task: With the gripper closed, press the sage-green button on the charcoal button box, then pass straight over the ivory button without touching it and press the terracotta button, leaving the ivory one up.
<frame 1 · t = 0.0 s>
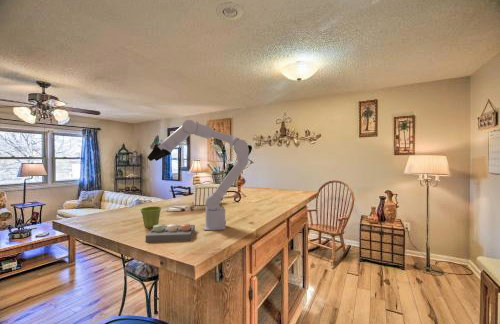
hand: (151, 159, 103), 32 cm above the table, tool tilted 50°, fingers open, 7 cm apart
button ivory: (171, 228, 95), point 3 cm above the table, slide at 0.0 cm
button terracotta: (185, 228, 95), point 3 cm above the table, slide at 0.0 cm
button box: (171, 236, 95), on the table
plant pot: (151, 226, 109), on the table
button sage: (158, 229, 94), point 3 cm above the table, slide at 0.0 cm
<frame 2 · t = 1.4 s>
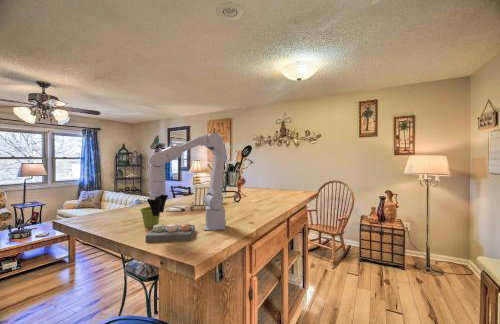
hand: (158, 214, 94), 9 cm above the table, tool pointing down, fingers open, 5 cm apart
nothing on the table moved.
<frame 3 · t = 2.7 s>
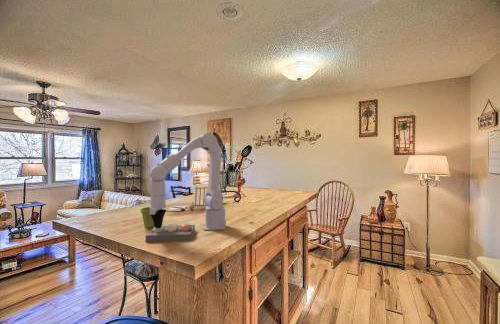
hand: (158, 227, 94), 4 cm above the table, tool pointing down, fingers closed, pressing on button sage
button sage: (158, 231, 94), point 2 cm above the table, slide at 0.8 cm, touching gripper
everything else where it was.
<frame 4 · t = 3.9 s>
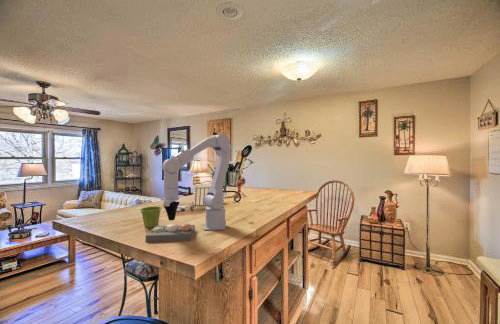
hand: (171, 219, 95), 7 cm above the table, tool pointing down, fingers closed
button sage: (158, 231, 94), point 2 cm above the table, slide at 1.0 cm
everything else where it was.
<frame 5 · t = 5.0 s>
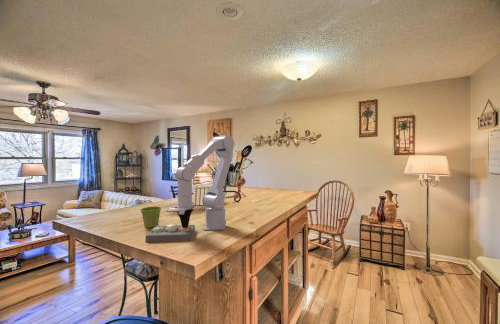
hand: (185, 227, 95), 3 cm above the table, tool pointing down, fingers closed, pressing on button terracotta
button terracotta: (185, 230, 95), point 2 cm above the table, slide at 1.0 cm, touching gripper
everything else where it was.
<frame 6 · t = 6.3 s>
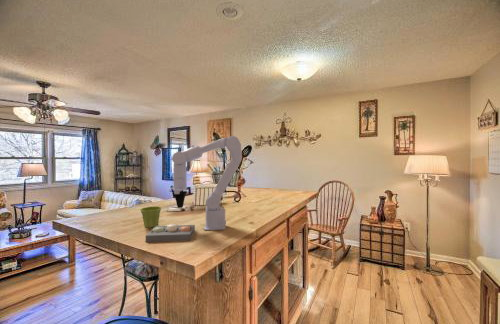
hand: (180, 207, 104), 10 cm above the table, tool pointing down, fingers closed
button terracotta: (185, 230, 95), point 2 cm above the table, slide at 1.0 cm
everything else where it was.
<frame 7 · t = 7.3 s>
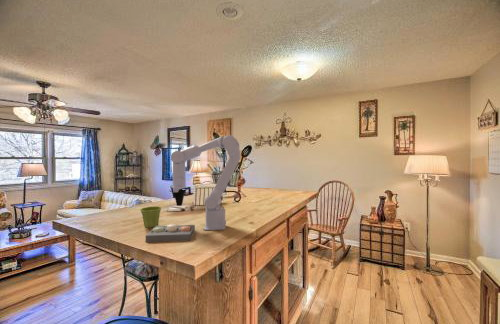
hand: (179, 205, 107), 10 cm above the table, tool pointing down, fingers closed
nothing on the table moved.
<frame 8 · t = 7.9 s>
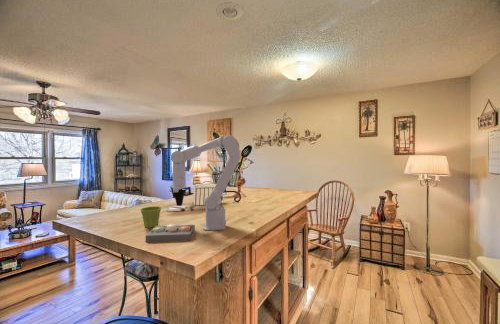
hand: (179, 205, 107), 10 cm above the table, tool pointing down, fingers closed
nothing on the table moved.
at the end: button sage slide at 1.0 cm; button terracotta slide at 1.0 cm; button ivory slide at 0.0 cm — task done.
